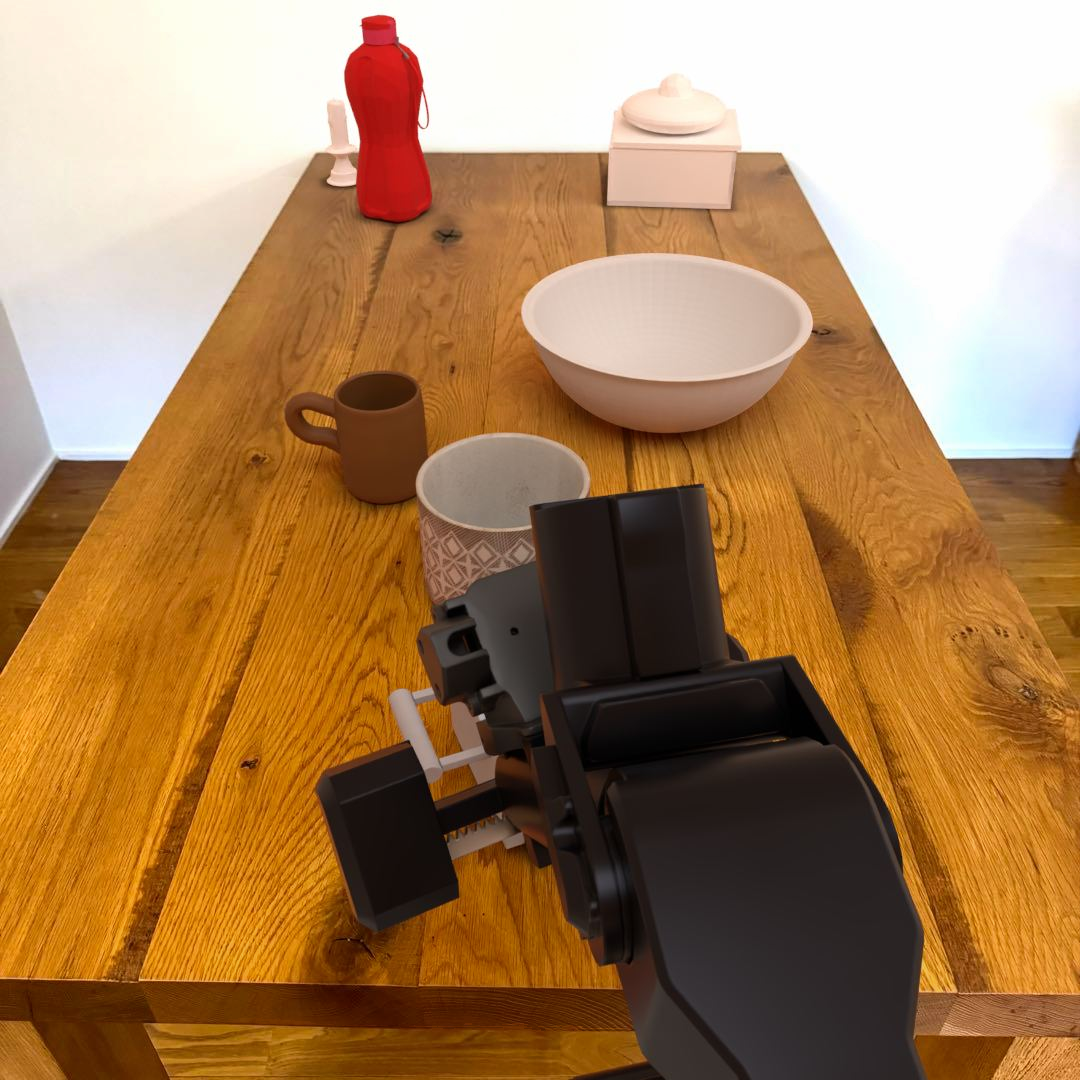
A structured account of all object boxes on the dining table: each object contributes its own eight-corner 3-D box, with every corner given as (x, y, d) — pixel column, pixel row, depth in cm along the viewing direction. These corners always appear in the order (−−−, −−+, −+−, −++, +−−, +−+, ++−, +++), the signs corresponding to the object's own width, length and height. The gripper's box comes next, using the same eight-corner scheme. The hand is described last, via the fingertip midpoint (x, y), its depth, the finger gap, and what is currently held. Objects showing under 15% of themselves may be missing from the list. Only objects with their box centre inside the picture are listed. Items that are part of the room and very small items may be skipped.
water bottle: (418, 230, 141) (402, 28, 126) (350, 217, 145) (326, 20, 129) (451, 207, 147) (440, 13, 132) (385, 196, 151) (367, 6, 136)
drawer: (436, 873, 60) (427, 792, 56) (389, 745, 68) (378, 665, 63) (693, 786, 65) (704, 706, 61) (622, 676, 73) (627, 597, 68)
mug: (288, 507, 90) (270, 414, 85) (304, 459, 96) (288, 369, 91) (426, 507, 90) (417, 413, 85) (433, 458, 96) (426, 368, 91)
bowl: (795, 494, 92) (813, 395, 85) (494, 461, 96) (491, 364, 90) (798, 351, 113) (812, 263, 107) (551, 330, 117) (551, 244, 111)
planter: (619, 603, 80) (625, 493, 74) (476, 666, 75) (469, 553, 69) (532, 521, 89) (531, 415, 82) (398, 571, 83) (386, 463, 77)
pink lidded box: (612, 165, 162) (616, 55, 152) (729, 168, 160) (740, 57, 150) (606, 205, 148) (610, 87, 138) (734, 209, 146) (747, 90, 137)
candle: (347, 189, 154) (337, 104, 146) (319, 183, 156) (308, 99, 149) (370, 178, 157) (361, 95, 150) (342, 172, 159) (332, 90, 152)
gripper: (781, 499, 39) (619, 533, 53) (289, 660, 33) (260, 649, 47) (867, 784, 39) (683, 740, 54) (394, 996, 33) (333, 881, 48)
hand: (499, 746), depth 51 cm, fingers open, 9 cm apart
